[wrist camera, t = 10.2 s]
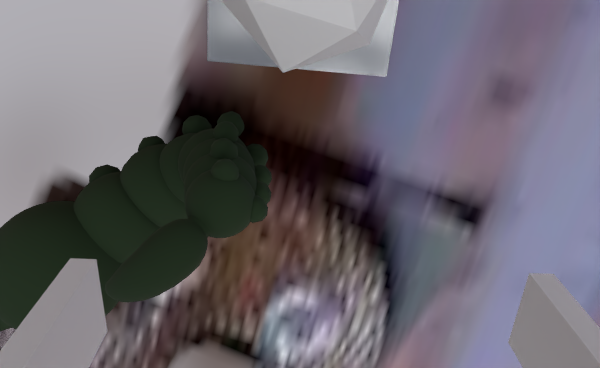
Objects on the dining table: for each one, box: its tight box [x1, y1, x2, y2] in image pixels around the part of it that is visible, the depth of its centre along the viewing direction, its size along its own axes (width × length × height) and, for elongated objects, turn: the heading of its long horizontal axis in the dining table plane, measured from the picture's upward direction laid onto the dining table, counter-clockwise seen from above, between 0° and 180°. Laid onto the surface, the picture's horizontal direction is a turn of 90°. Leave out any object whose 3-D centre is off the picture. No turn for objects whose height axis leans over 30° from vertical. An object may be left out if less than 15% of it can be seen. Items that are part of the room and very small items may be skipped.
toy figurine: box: [0, 111, 272, 331], centre depth 31 cm, size 10×19×26 cm
